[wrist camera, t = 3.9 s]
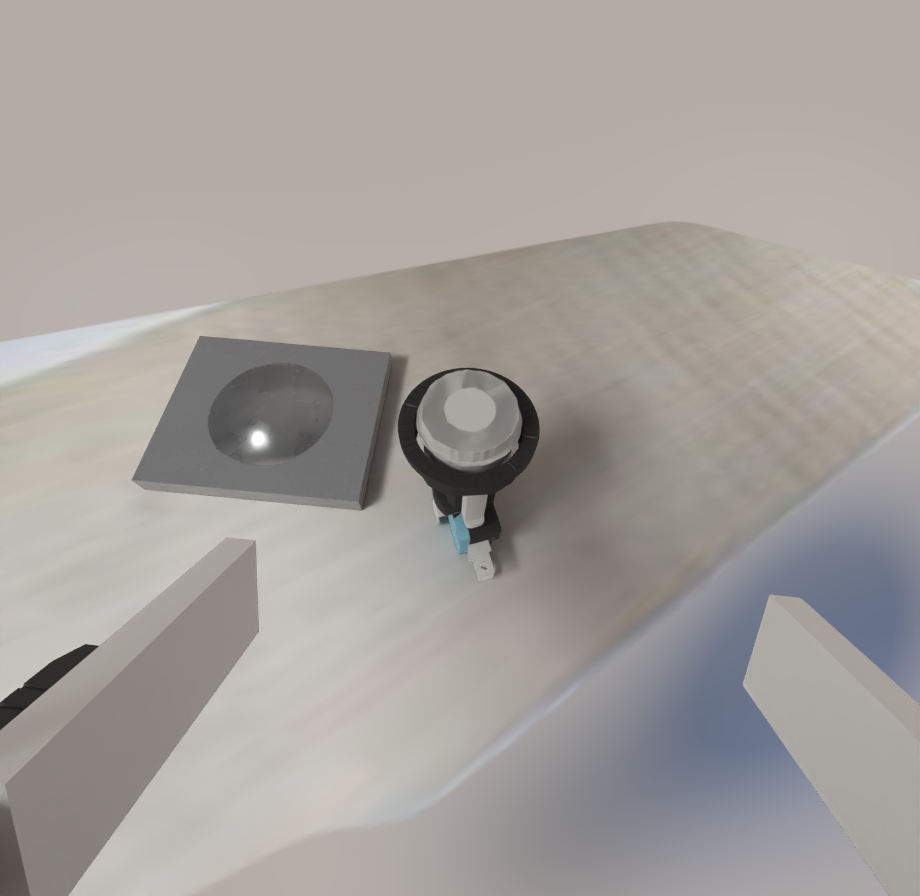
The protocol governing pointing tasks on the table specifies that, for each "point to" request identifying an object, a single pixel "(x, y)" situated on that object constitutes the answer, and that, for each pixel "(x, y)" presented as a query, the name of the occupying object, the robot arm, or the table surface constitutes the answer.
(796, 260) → the table surface
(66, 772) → the robot arm
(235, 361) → the flange plate
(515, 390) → the push button
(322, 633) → the table surface
